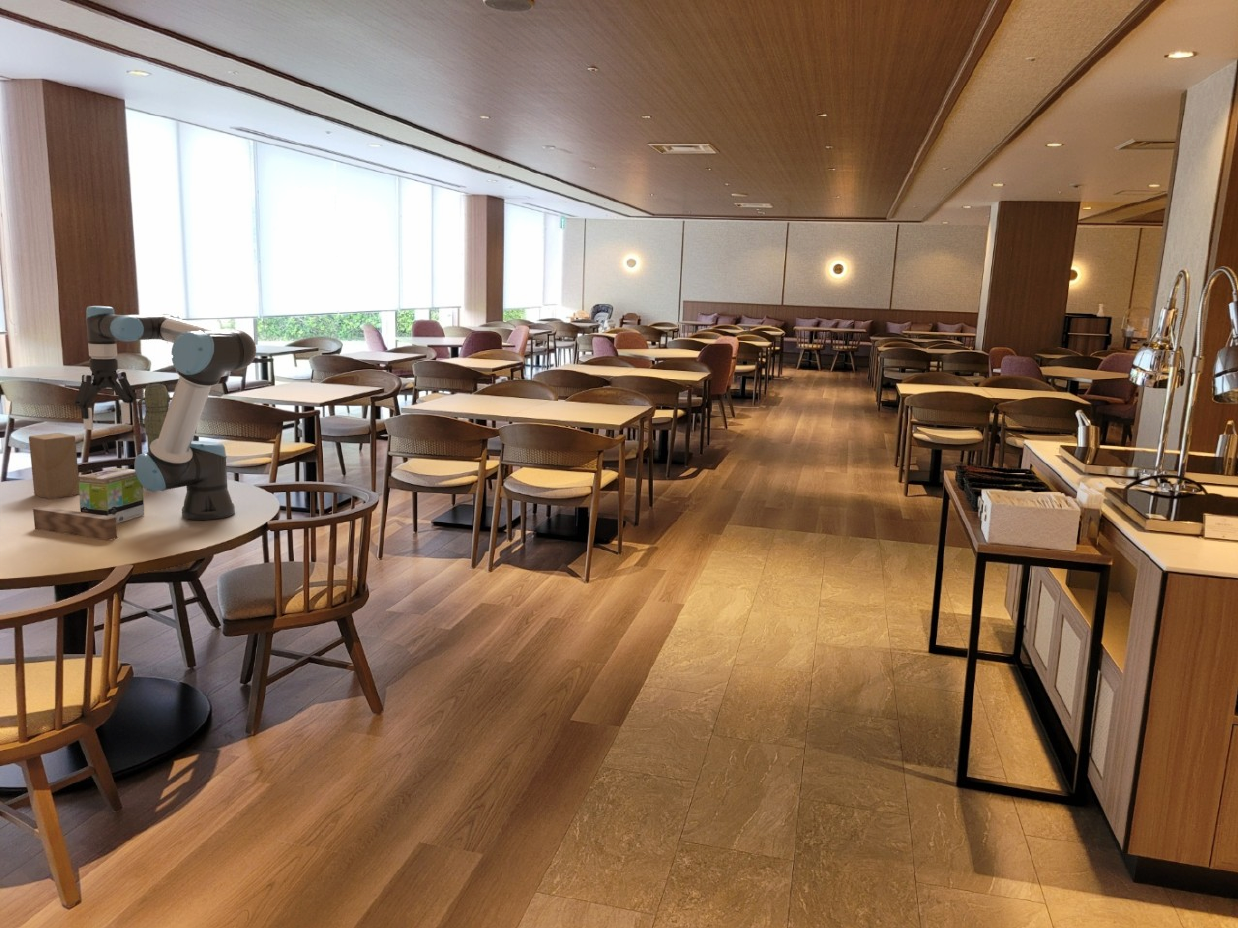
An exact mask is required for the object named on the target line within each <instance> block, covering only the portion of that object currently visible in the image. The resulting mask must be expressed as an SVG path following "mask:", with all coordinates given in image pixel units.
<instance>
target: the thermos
mask: <svg viewBox="0 0 1238 928" xmlns="http://www.w3.org/2000/svg"><path fill="white" fill-rule="evenodd" d="M143 396H144V397H142V398H139V400H138V401H137V405H138V406H137V407H138V416H139V426H140V427H142V428H143V429H144V433H145V436H146V443H147V451H148V450H149V447H150V444H151V442H152V441H154V440H156V439H158V438H159V435H160V433H161V430H162V427H163V424H164V421H165V418H166V415H167V412H168V409H169V406H170V402H169V401H171V400H172V397H173V396H172V397H170V396H169V392H168V388H167V387H166V385H164V384H162V383H150V384H147V385H145V389H144V395H143ZM143 402H144V406H145V415H144V419H143V405H142V403H143Z"/></svg>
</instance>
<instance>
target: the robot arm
mask: <svg viewBox="0 0 1238 928" xmlns="http://www.w3.org/2000/svg"><path fill="white" fill-rule="evenodd" d="M85 322H86V331H87V332H86V333H87V335H86V336H87V346H88V356H89V357H90V358H89V359H88V361H89V363H88V364H89V369H90V371H91V374H90V375H89V374H82V376H81V383H80V387H79V388H78V389H79V390H78V392H77V395H76V398H75V401H74V403H73V405H74V407H76V408H80V413H81V416H80V417H81V419H83V429H84V430H88V431H89V430H90V431H92V430H94V422H93V410H92V407H90V406H91V405H92V403H93V402H94V400H95V398H96V397H97V395H98V393H99V392H100V391H101V390H102V389H103V390H104V389H112V390H113V392H114V393H116V396H118V397H119V398H120V399H121V401H122V402H120V413H121V424H129V425H130V424H131V412H132V406H131V405H132V403H134V402H135V401H136V400H137V396H136V395H135V392H134V390H133V388H132V386H131V384H130V382H129V381H128V376H127V373H126V371H118V370H119V361H118V358H116V357H117V356H118V347H117V344H118V343H117V341H120V342H135V341H144V340H146V341H147V340H148V341H149V340H162V341H165V342H169V343H172V346H171V347H172V348H171V355H172V357H171V360H172V364H173V367H174V369H175V372H176V374H177V375H178V379H177V382H176V384H175V388H174V392H173V395H172V400H170V402H169V406H168V412H167V415H166V418H165V421H164V424H163V427H162V430H161V433H160V435H159V438H158V439H156V440H154V441H152V442H151V444H150V447H149V450H148V449H147V452H146V453H145V452H143V453H141V454H138V455H137V456H136V457H135V459H134V470H135V472H136V475H137V478H138V480H139V482H140V484H141V485H142V486H143V489H145V490H146V491H148V492H153V493H155V492H165V491H168V490H173V489H174V490H175V489H179V488H184V487H186V493H185V497H184V501H183V506H182V508H181V517H182V518H183V519H186V520H193V521H209V520H212V521H213V520H219V519H224V518H229V517H231V516H233V515H234V514H235V513H236V509H235V507H236V506H235V504H234V503H233V500H232V497H231V494H230V492H229V488H228V471H227V470H228V469H227V453H226V447H225V446H224V444H222V443H220V442H215V441H204V440H203V441H202V440H193V439H194V436H195V433H196V431H197V429H198V425H199V422H200V420H201V416H202V414H203V411H204V409H205V406H206V402H207V400H208V397H209V394H210V392H211V389H212V387H214V386H217V385H219V383H220V381H221V378H222V376H223V373H224V372H235V371H236V372H237V371H241V370H243V369H245V368H247V367H248V366H250V365H251V364H252V363H253V362H254V360H255V358H256V355H257V345H256V342H255V340H254V339H253V337H252V336H251V335H249V334H248V333H246V332H245V331H242V330H239V329H234V328H224V329H220V328H215V327H211V326H207V325H203V324H199V323H195V322H191V321H188V320H183V319H181V318H180V317H179V316H178V315H176V314H169V313H163V314H116V313H115V308H114V307H112V306H104V305H92V306H91V305H89V306H87V307H86V318H85Z"/></svg>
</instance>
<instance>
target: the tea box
mask: <svg viewBox="0 0 1238 928" xmlns="http://www.w3.org/2000/svg"><path fill="white" fill-rule="evenodd" d="M78 495H79V510H80V511H79V512H83V513H90V514H97V515H104V516H110V517H116V525H117V524H119V523H122V522H126V521H130V520H133V519H136V518H140V516H141V517H144V516H145V503H144V502H145V501H144V487H143V486H142V485H141V484H140V482H139V480H138V478H137V475H136V472H135V469H132V468H121V467H119V468H118V467H114V468H110V469H106V470H105V469H104V470H100V471H97V472H92V473H88V474H84V475H79V494H78ZM143 515H144V516H143Z"/></svg>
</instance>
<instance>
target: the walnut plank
mask: <svg viewBox="0 0 1238 928" xmlns="http://www.w3.org/2000/svg"><path fill="white" fill-rule="evenodd" d="M32 512H33V522H34V523H33V524H34V529H35V530H39V531H40V530H41V531H46V532H51V531H52V532H53V533H58V534H66V535H72V536H78V537H84V538H88V539H89V538H90V539H95V540H102V541H111V539H112V540H114V538H115V539H117V538H118V529H117V524H116V517H110V516H104V515H97V514H90V513H83V512H81V511H77V510H69V509H68V510H67V509H61V508H54V507H48V506H39V507H35V508H32Z"/></svg>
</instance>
